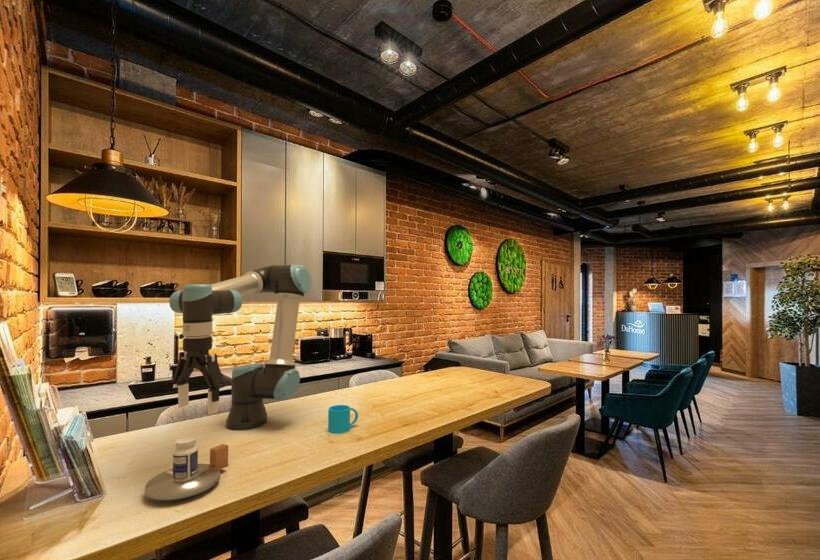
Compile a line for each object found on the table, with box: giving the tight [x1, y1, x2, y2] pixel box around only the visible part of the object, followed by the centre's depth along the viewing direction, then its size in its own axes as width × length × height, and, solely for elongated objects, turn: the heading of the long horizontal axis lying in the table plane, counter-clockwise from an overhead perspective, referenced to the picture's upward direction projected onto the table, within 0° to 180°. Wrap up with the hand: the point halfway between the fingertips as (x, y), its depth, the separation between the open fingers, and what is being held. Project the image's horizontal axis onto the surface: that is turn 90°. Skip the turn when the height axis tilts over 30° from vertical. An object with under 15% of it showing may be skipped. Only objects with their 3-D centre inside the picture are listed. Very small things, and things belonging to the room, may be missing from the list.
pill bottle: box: [172, 435, 199, 482], centre depth 99 cm, size 6×6×10 cm
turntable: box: [144, 443, 229, 502], centre depth 100 cm, size 17×20×6 cm
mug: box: [327, 404, 359, 434], centre depth 143 cm, size 12×8×8 cm
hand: (198, 409), depth 109 cm, fingers open, 13 cm apart
